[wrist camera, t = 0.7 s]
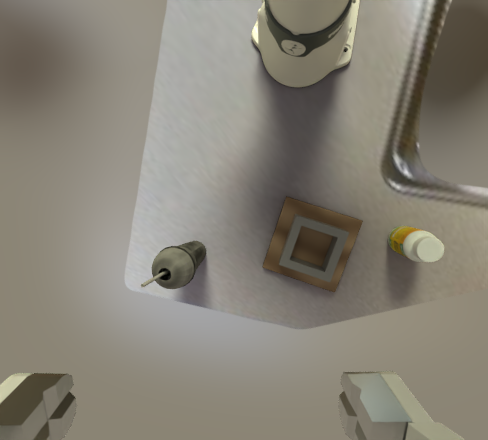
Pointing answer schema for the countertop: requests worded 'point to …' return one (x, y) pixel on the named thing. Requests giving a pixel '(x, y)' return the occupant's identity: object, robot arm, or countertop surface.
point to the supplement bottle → (415, 244)
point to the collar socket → (311, 244)
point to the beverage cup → (177, 265)
